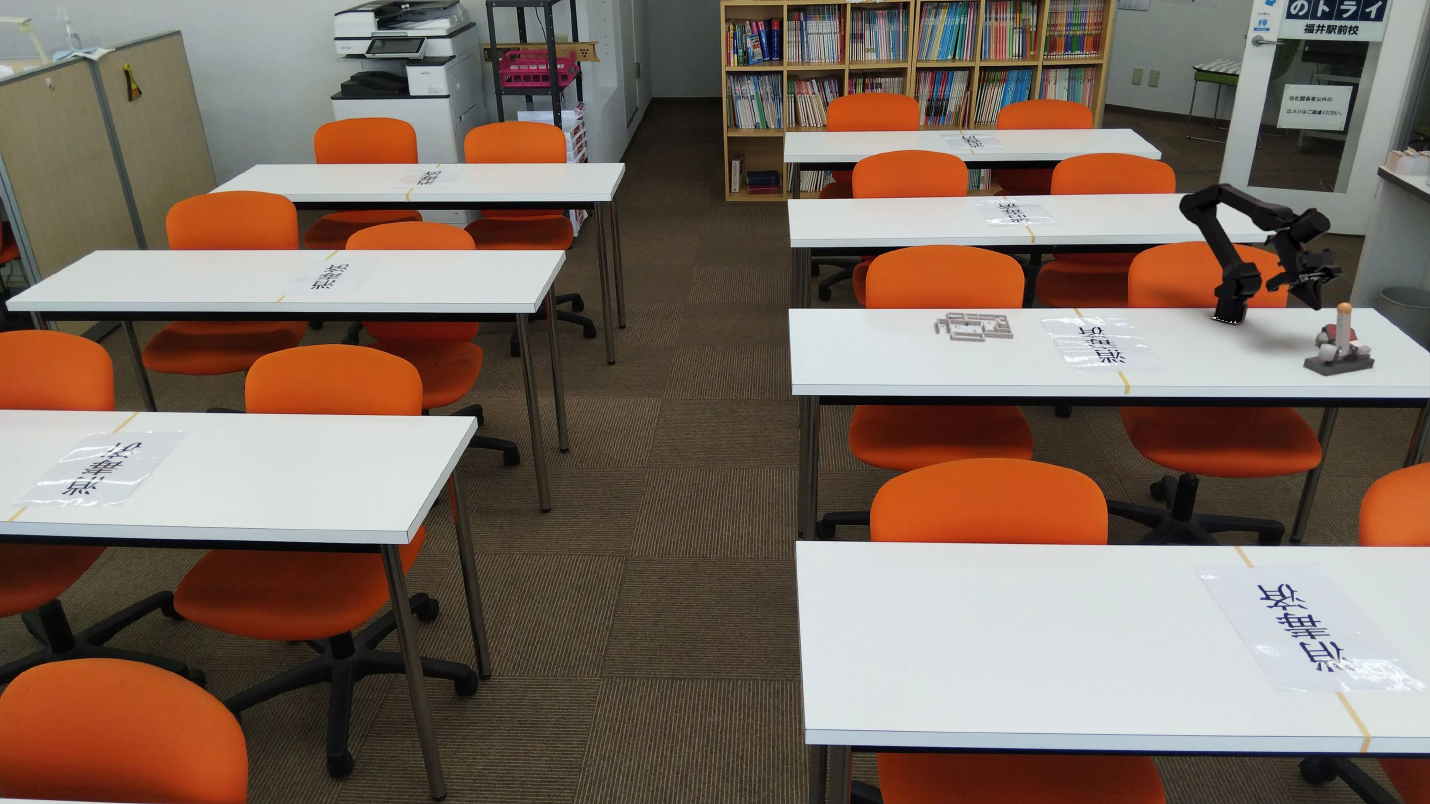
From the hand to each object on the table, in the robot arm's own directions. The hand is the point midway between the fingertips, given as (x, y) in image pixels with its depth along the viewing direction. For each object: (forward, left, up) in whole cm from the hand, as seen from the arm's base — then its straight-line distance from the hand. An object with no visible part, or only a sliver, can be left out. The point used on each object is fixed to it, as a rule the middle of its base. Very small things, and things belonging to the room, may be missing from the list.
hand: (1318, 310), depth 228 cm
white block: (+10, +1, -7) cm, 12 cm away
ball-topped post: (+8, -4, -8) cm, 12 cm away
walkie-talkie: (+4, +11, -12) cm, 16 cm away
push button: (+6, -8, -9) cm, 14 cm away
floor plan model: (-64, -47, -12) cm, 80 cm away
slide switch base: (+8, -4, -11) cm, 14 cm away
